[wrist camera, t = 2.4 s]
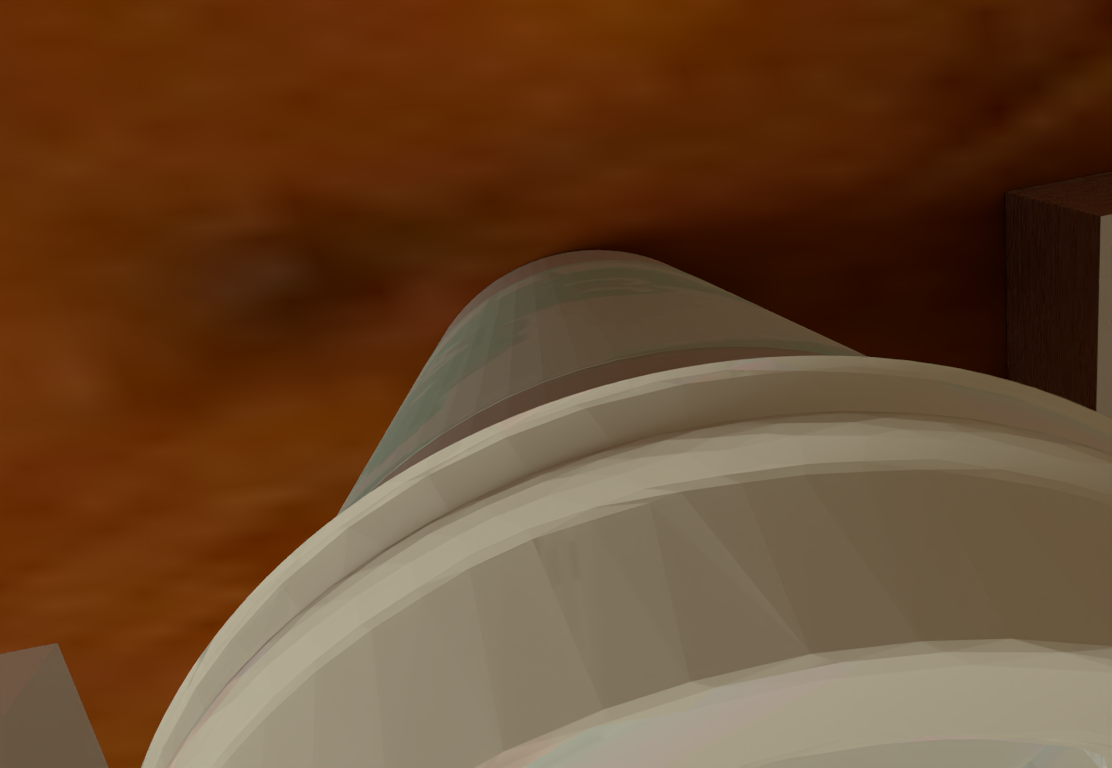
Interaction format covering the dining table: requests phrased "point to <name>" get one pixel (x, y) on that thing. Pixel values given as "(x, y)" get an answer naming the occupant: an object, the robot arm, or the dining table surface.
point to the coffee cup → (681, 557)
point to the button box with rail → (1061, 289)
